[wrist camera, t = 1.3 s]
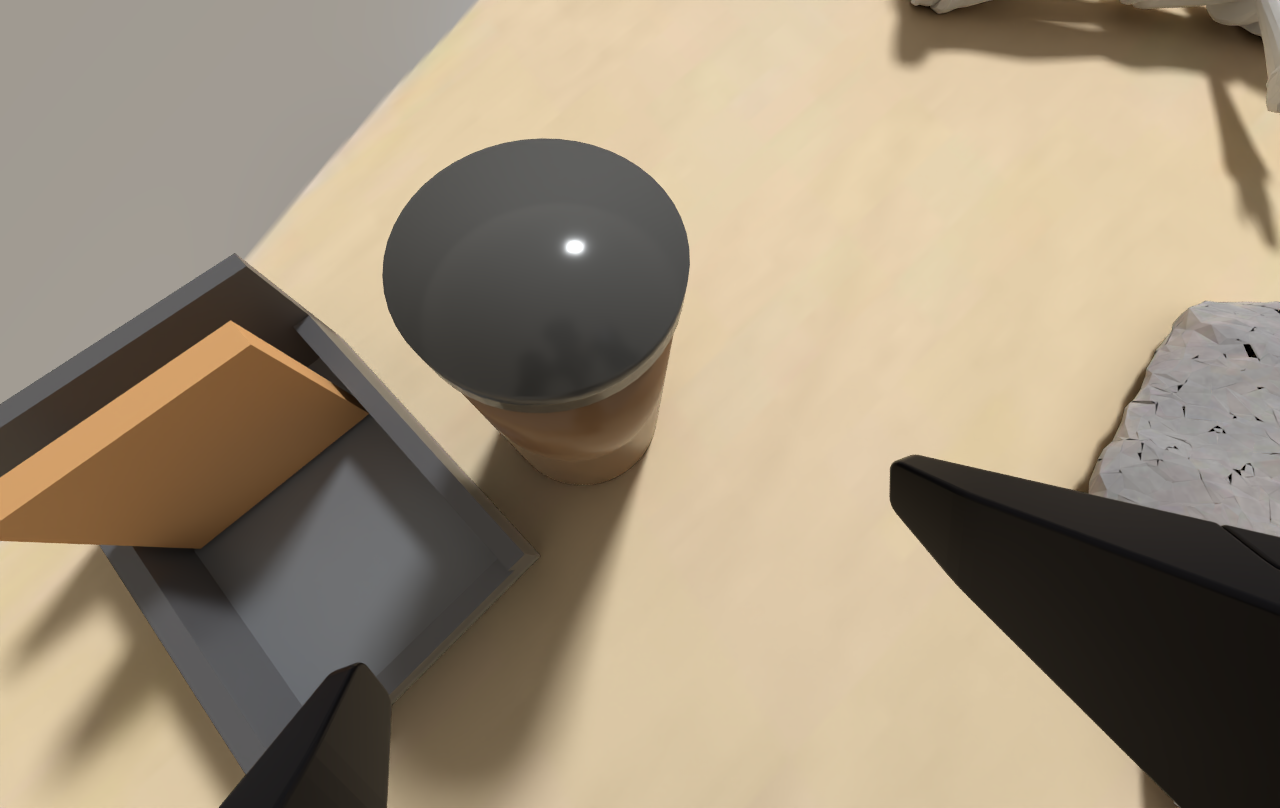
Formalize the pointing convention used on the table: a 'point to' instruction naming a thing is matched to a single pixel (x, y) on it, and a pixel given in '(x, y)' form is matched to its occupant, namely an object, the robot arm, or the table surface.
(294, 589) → the tray
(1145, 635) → the robot arm
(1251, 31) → the toy
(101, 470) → the block
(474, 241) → the jar
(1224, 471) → the stone
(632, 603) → the table surface
